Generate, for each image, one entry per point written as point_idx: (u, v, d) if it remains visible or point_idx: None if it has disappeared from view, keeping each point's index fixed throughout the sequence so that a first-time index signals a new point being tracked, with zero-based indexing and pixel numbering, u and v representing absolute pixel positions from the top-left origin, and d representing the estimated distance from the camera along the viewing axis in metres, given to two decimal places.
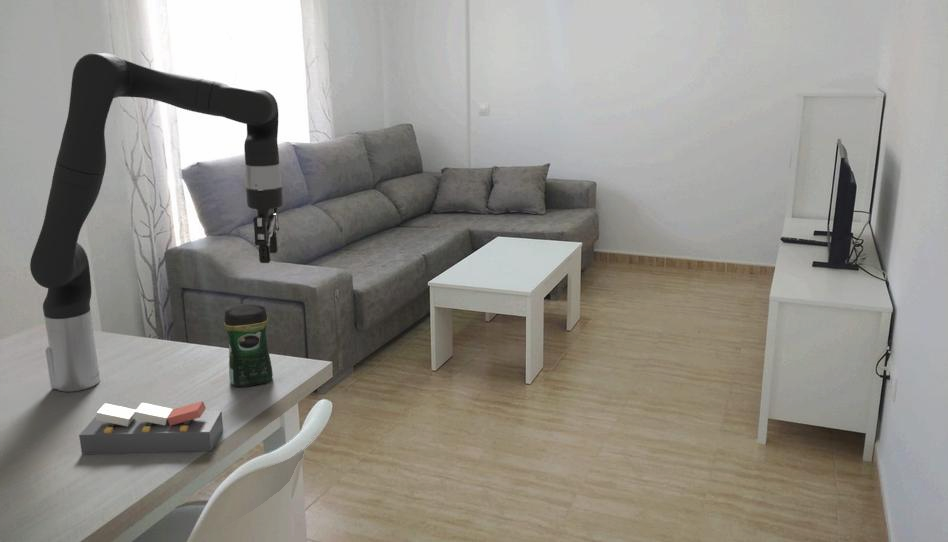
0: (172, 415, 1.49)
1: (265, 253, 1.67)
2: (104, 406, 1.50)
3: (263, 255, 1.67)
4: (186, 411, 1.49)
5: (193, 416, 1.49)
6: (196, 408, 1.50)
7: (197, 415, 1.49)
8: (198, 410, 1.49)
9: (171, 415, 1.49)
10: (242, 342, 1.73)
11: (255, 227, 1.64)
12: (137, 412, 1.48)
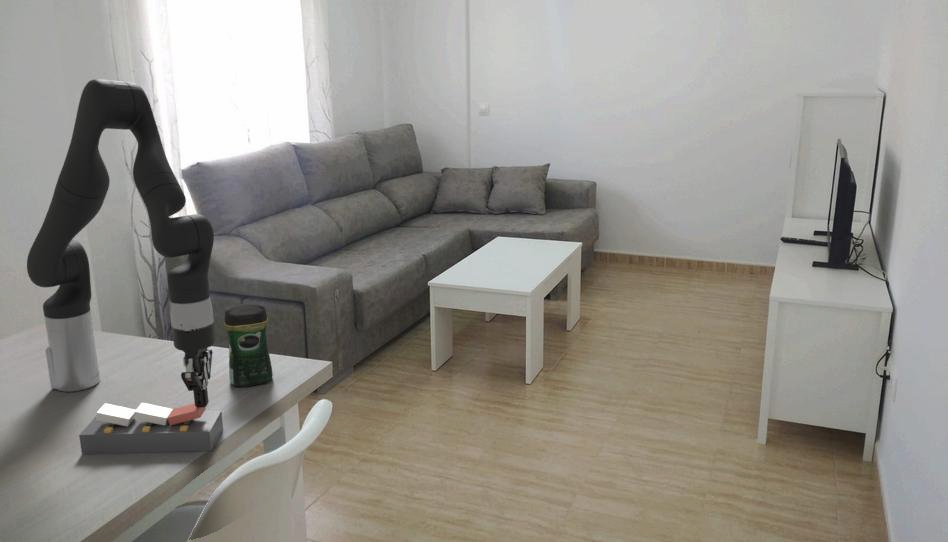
0: (172, 415, 1.49)
1: (201, 397, 1.49)
2: (104, 406, 1.50)
3: (198, 400, 1.49)
4: (186, 411, 1.49)
5: (193, 416, 1.49)
6: (196, 408, 1.50)
7: (197, 415, 1.49)
8: (198, 410, 1.49)
9: (171, 415, 1.49)
10: (242, 342, 1.73)
11: (185, 382, 1.44)
12: (137, 412, 1.48)
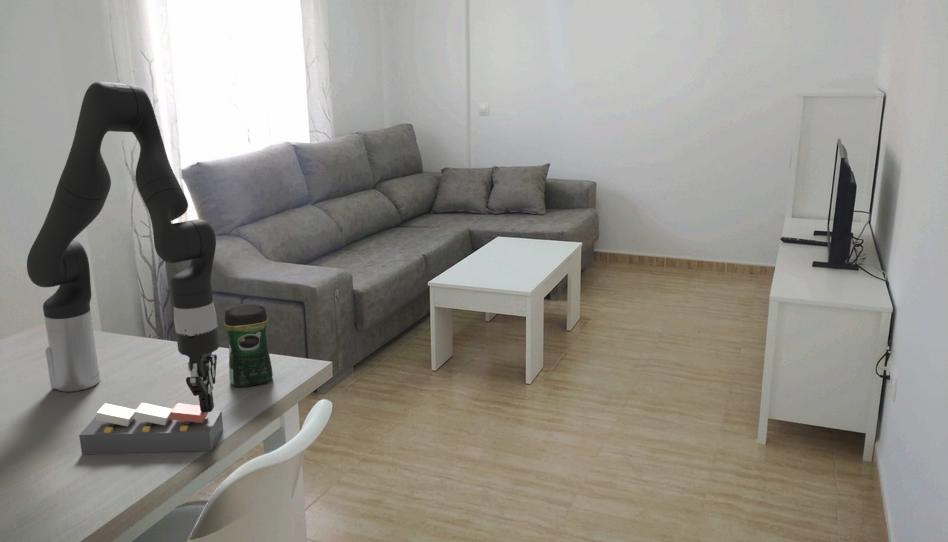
0: (176, 411, 1.49)
1: (206, 402, 1.49)
2: (104, 406, 1.50)
3: (204, 404, 1.49)
4: (190, 412, 1.49)
5: (196, 419, 1.49)
6: (201, 412, 1.50)
7: (200, 420, 1.49)
8: (203, 415, 1.50)
9: (175, 410, 1.49)
10: (242, 342, 1.73)
11: (190, 387, 1.44)
12: (137, 412, 1.48)
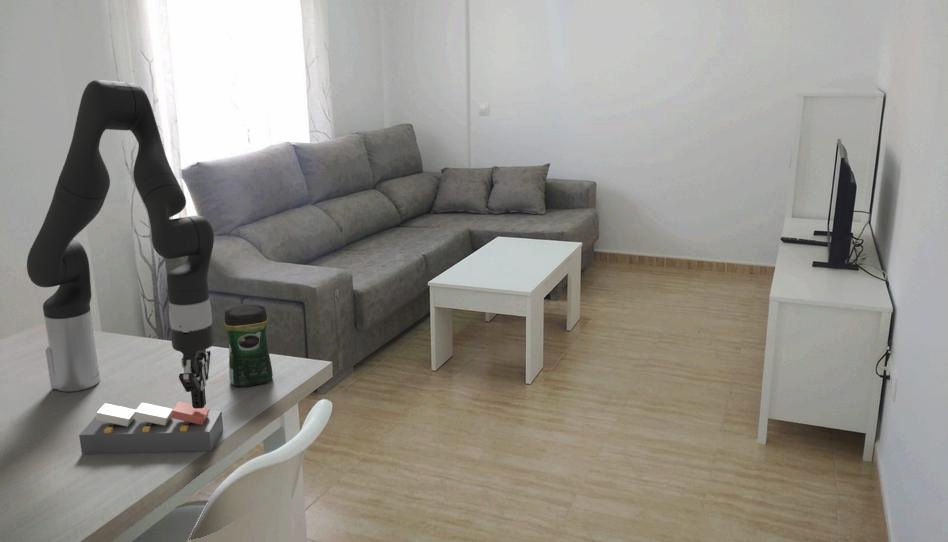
0: (178, 409, 1.49)
1: (198, 398, 1.49)
2: (104, 406, 1.50)
3: (196, 401, 1.49)
4: (192, 412, 1.50)
5: (197, 421, 1.49)
6: (202, 414, 1.50)
7: (201, 422, 1.49)
8: (204, 418, 1.50)
9: (177, 409, 1.49)
10: (242, 342, 1.73)
11: (183, 383, 1.44)
12: (137, 412, 1.48)
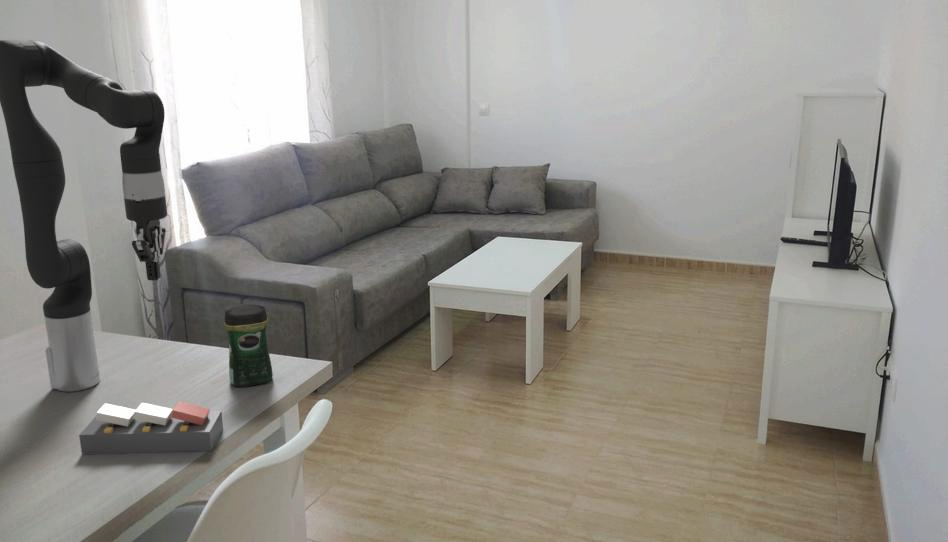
0: (178, 409, 1.49)
1: (152, 270, 1.55)
2: (104, 406, 1.50)
3: (150, 272, 1.55)
4: (192, 413, 1.50)
5: (197, 421, 1.49)
6: (203, 415, 1.50)
7: (201, 422, 1.49)
8: (204, 418, 1.50)
9: (177, 409, 1.49)
10: (242, 342, 1.73)
11: (136, 250, 1.50)
12: (137, 412, 1.48)
